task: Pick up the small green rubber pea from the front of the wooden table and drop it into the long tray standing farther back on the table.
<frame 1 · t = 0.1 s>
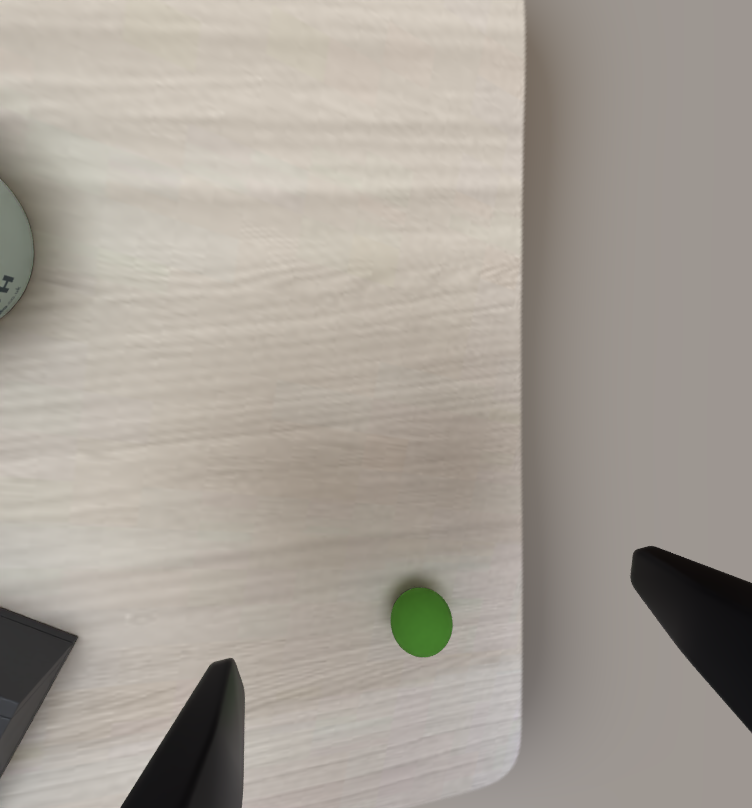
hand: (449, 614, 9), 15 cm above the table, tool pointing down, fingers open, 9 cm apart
pea: (413, 603, 25), on the table
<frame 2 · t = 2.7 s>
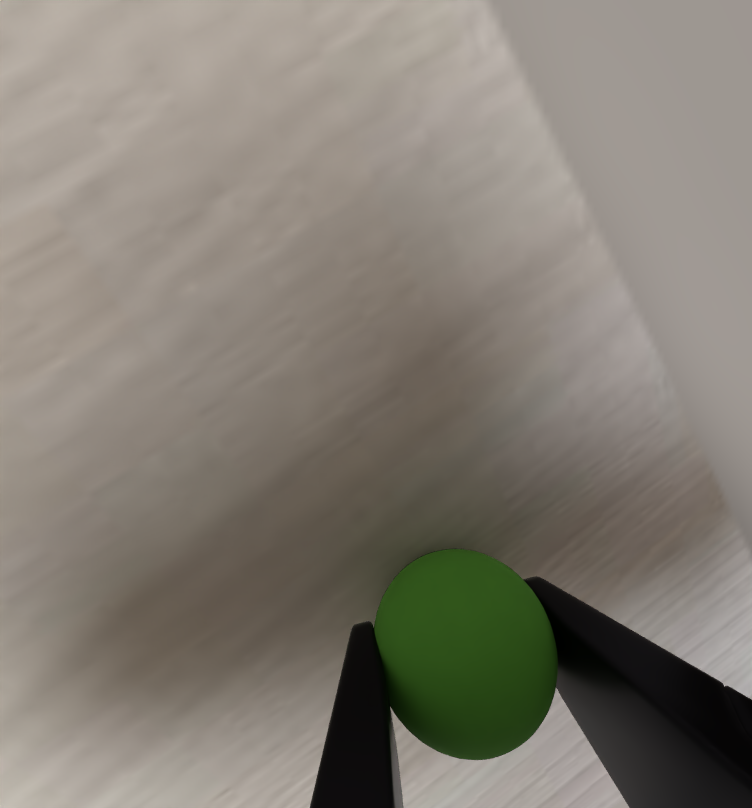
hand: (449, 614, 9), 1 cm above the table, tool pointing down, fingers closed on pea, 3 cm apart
pea: (432, 579, 10), on the table, touching gripper
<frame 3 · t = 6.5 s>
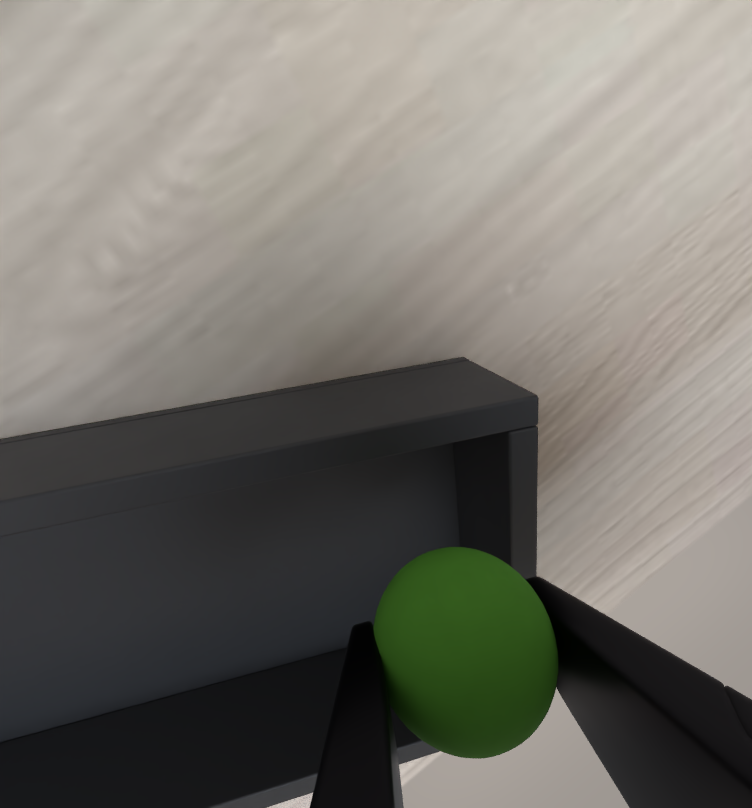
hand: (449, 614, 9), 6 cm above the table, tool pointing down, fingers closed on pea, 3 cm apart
tray: (121, 583, 14), on the table
pea: (432, 577, 10), point 5 cm above the table, touching gripper
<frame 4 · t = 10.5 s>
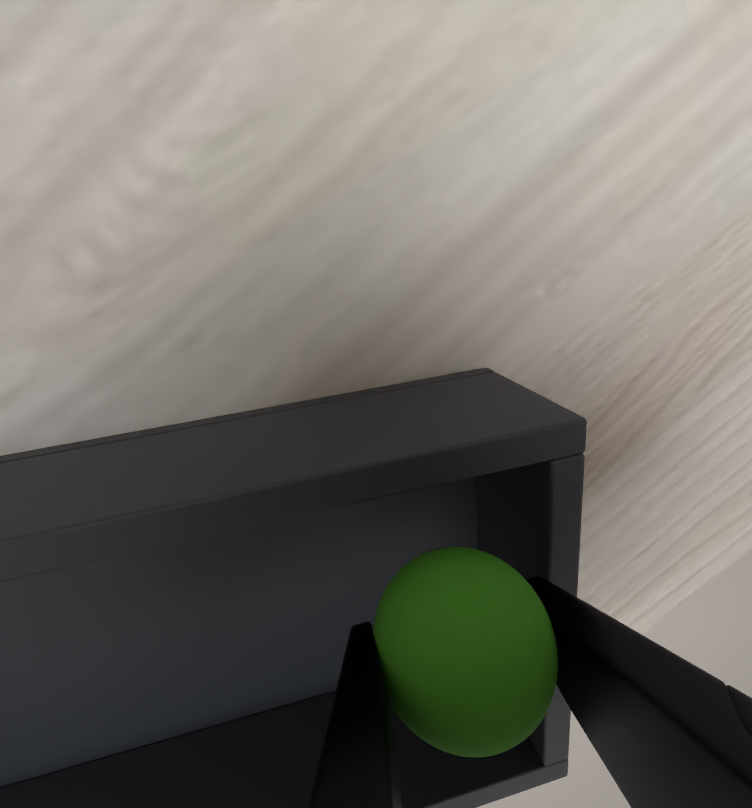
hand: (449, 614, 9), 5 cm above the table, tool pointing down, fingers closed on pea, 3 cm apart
tray: (104, 619, 12), on the table
pea: (432, 577, 10), point 4 cm above the table, touching gripper
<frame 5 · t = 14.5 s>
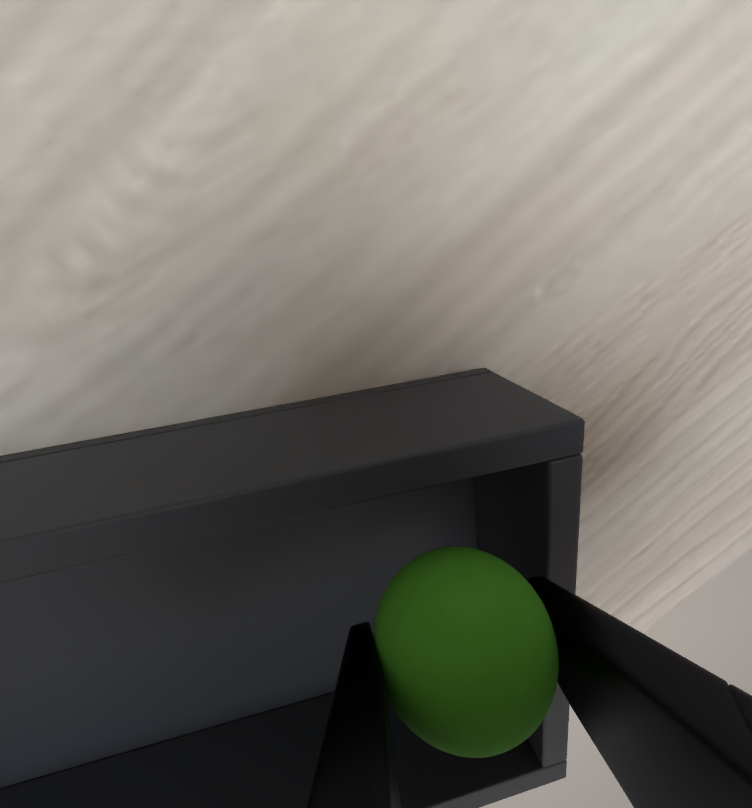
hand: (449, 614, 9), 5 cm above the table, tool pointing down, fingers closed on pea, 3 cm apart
tray: (101, 621, 12), on the table
pea: (432, 577, 10), point 4 cm above the table, touching gripper
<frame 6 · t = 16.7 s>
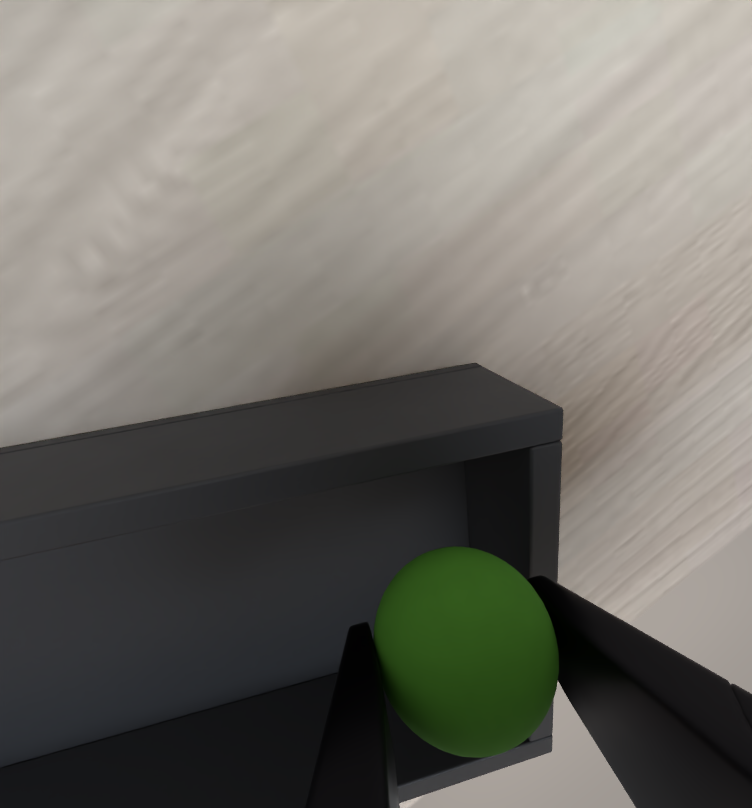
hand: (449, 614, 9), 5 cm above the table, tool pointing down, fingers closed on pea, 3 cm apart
tray: (110, 604, 13), on the table
pea: (432, 577, 10), point 4 cm above the table, touching gripper
when the fingers open (7 cm above the table, at t = 18.4 s): pea drops 5 cm, resting on tray.
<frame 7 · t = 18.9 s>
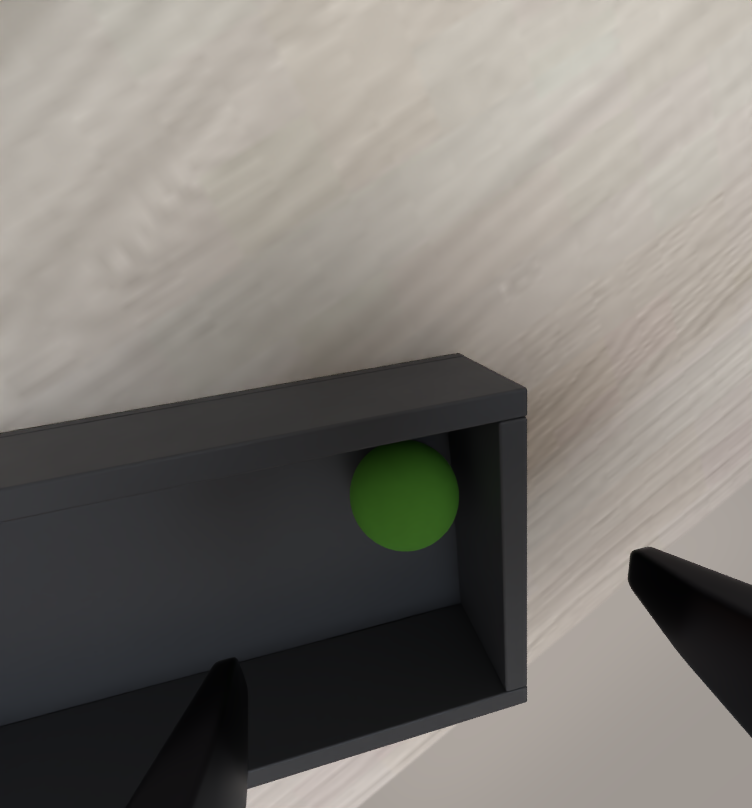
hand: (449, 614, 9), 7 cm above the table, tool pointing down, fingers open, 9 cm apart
tray: (130, 569, 15), on the table
pea: (382, 471, 15), point 1 cm above the table, tilted 12°, touching tray
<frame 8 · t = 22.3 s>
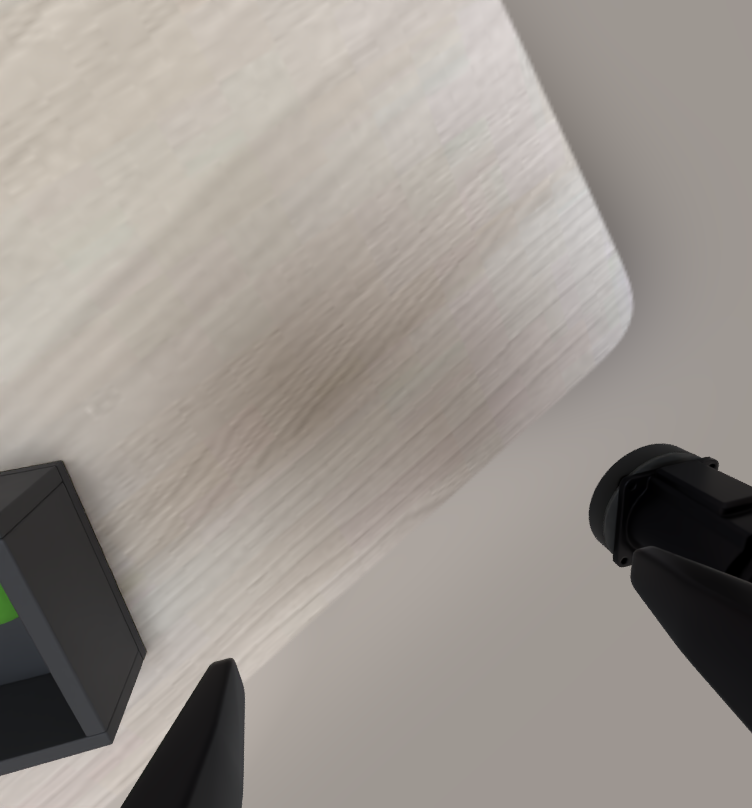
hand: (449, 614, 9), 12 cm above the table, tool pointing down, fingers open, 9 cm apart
pea: (4, 556, 18), point 1 cm above the table, tilted 24°, touching tray
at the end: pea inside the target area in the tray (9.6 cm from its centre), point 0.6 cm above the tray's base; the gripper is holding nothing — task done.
